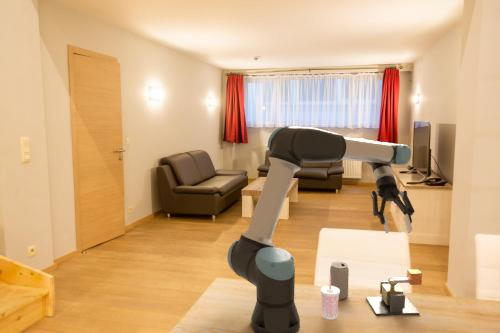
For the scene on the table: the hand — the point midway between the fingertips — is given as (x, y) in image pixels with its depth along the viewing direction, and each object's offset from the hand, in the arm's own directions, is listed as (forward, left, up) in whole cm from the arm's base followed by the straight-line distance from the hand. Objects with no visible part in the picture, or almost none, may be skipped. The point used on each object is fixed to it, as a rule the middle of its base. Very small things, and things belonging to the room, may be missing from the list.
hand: (398, 231), depth 141 cm
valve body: (-7, -15, -22) cm, 27 cm away
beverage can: (-23, -7, -22) cm, 33 cm away
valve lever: (-3, -15, -13) cm, 20 cm away
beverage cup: (-29, -20, -22) cm, 41 cm away
